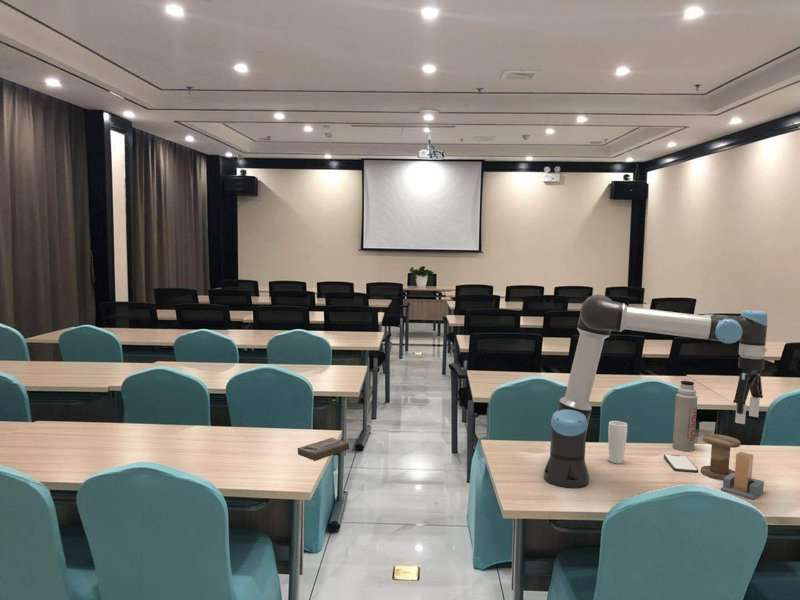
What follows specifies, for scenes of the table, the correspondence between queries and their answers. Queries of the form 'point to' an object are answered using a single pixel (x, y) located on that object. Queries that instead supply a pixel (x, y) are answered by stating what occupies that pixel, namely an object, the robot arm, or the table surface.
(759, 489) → the grey slotted holder
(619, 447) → the drinking glass
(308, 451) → the box
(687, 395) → the thermos bottle
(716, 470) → the bobbin
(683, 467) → the smartphone
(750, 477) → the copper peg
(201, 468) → the table surface
